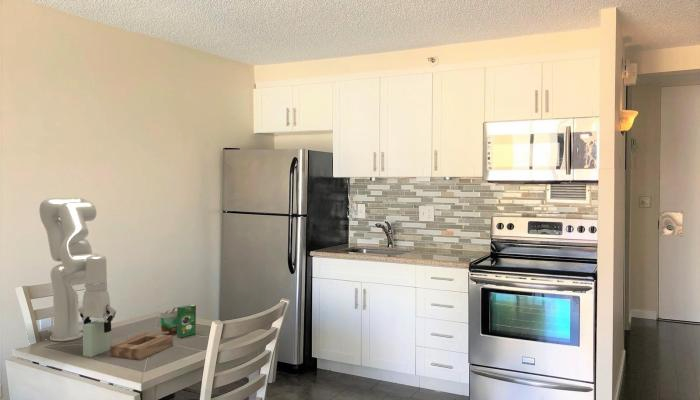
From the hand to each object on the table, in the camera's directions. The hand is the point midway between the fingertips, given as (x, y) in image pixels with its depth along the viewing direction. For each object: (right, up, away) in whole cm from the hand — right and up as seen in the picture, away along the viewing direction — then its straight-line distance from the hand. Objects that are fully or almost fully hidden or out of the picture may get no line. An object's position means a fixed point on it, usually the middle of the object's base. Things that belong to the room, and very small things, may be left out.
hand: (97, 331), depth 222 cm
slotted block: (+16, -9, +4) cm, 19 cm away
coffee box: (+27, -8, +25) cm, 38 cm away
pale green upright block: (-1, -9, +1) cm, 9 cm away
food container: (+20, -8, +30) cm, 37 cm away
